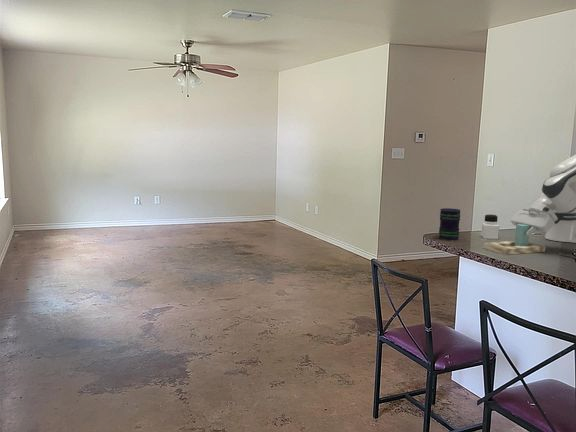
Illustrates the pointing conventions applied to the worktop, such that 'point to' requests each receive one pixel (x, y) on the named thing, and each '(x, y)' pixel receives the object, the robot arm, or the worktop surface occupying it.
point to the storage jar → (449, 224)
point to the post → (521, 235)
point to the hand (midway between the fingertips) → (521, 233)
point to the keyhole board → (513, 248)
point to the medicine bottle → (490, 227)
